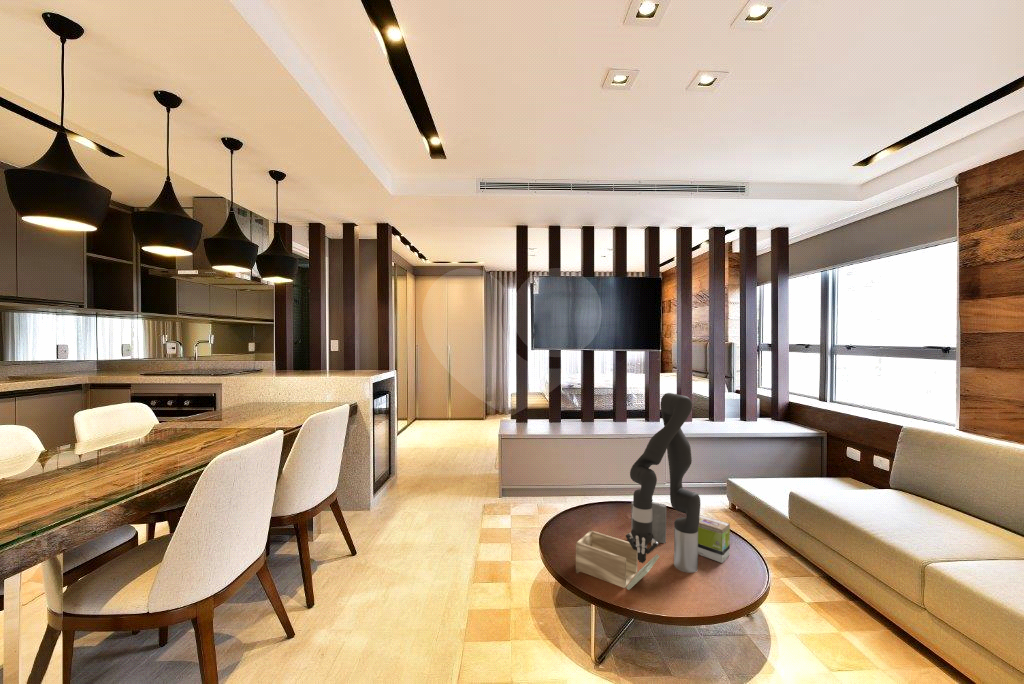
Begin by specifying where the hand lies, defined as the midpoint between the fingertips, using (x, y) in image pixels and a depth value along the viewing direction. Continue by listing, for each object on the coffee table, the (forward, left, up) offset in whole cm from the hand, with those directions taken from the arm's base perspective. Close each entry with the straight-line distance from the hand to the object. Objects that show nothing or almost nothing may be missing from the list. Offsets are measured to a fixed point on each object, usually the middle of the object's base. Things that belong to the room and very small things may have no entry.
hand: (641, 561), depth 162 cm
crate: (0, -15, -10) cm, 18 cm away
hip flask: (-39, -10, -10) cm, 42 cm away
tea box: (-43, +16, -10) cm, 47 cm away
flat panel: (0, -3, -9) cm, 9 cm away
